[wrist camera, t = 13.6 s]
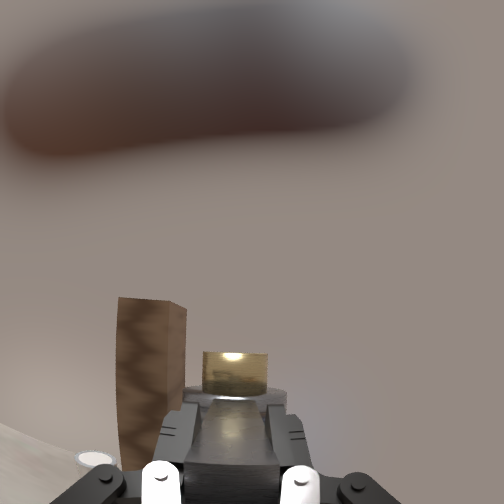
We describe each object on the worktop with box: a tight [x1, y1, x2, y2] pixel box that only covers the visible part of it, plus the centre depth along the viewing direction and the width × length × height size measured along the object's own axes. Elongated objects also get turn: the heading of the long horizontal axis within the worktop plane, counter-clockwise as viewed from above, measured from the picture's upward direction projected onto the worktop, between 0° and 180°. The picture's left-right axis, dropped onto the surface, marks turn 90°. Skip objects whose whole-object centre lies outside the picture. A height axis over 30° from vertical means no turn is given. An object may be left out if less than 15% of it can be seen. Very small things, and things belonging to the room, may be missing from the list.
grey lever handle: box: [182, 352, 287, 504], centre depth 18 cm, size 9×22×6 cm, turn 3°
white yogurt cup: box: [74, 450, 117, 478], centre depth 29 cm, size 7×7×7 cm
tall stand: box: [116, 297, 187, 471], centre depth 31 cm, size 6×11×32 cm, turn 3°
